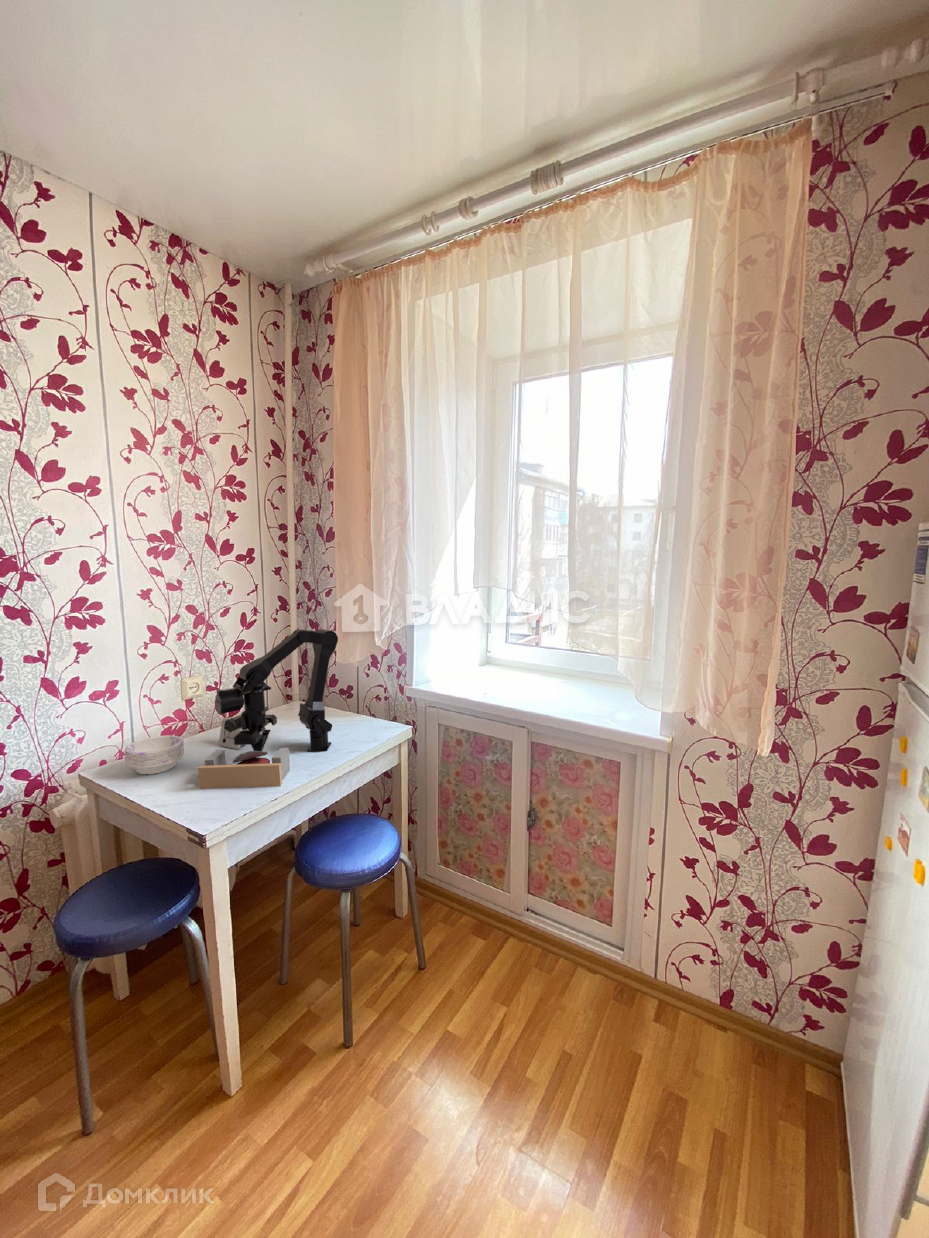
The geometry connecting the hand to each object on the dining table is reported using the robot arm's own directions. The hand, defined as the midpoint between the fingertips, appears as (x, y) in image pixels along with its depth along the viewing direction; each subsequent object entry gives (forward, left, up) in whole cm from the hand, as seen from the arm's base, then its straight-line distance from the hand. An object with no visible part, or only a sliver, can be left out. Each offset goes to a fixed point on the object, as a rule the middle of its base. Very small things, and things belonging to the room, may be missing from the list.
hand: (258, 755), depth 150 cm
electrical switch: (-18, -15, -3) cm, 23 cm away
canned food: (+5, 0, -4) cm, 6 cm away
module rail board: (+8, 0, -3) cm, 9 cm away
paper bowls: (-1, -31, -3) cm, 31 cm away
